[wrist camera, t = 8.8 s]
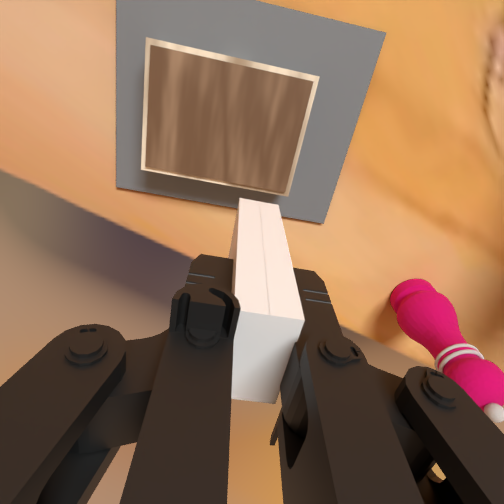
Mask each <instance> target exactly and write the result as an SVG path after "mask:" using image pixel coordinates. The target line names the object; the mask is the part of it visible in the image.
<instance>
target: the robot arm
mask: <svg viewBox="0 0 504 504" xmlns="http://www.w3.org/2000/svg"><path fill="white" fill-rule="evenodd" d="M327 294H328V292H327V289H326V286H325V284H324V281H323V280H322V279H321V278H320V277H319V276H318V275H317V274H316V273H315V272H314V271H310V270H304V269H297V268H293V266H292V262H291V257H290V253H289V249H288V244H287V240H286V236H285V231H284V227H283V222H282V218H281V214H280V209H279V205H276V204H271V203H265V202H260V201H254V200H249V199H243V198H240V199H239V204H238V209H237V215H236V220H235V225H234V230H233V236H232V241H231V246H230V252H229V257H228V258H222V257H216V256H210V255H204V254H200V255H199V256H198V257H197V258H196V259H194V260H193V261H192V262H191V266H190V270H189V274H188V277H187V280H186V284H185V287H183V288H182V289H180V290H179V291H177V292H176V294H175V295H174V297H173V298H172V306H171V317H170V327H169V329H167V330H166V331H164V332H162V333H161V334H158V335H156V336H153V337H149V338H144V339H136V340H128V341H125V339H124V338H123V336H122V335H121V334H120V332H119V331H117V330H115V329H113V328H111V327H109V326H104V325H98V324H90V325H80V326H77V327H74V328H71V329H69V330H66V331H64V332H63V333H61V334H60V335H58V336H57V337H55V338H54V339H53V340H52V341H50V342H49V343H48V344H47V345H46V346H45V347H44V348H43V349H42V350H40V351H39V352H38V353H37V354H36V355H35V356H34V357H33V358H32V359H30V360H29V361H28V362H27V363H26V364H25V365H24V366H23V367H22V368H21V369H19V370H18V371H17V372H16V373H15V374H14V375H13V376H12V377H11V378H9V379H8V380H7V382H5V383H4V384H3V385H2V386H1V387H0V504H87V502H88V500H89V499H90V497H91V495H92V494H93V492H94V490H95V488H96V487H97V485H98V483H99V482H100V480H101V478H102V477H103V475H104V473H105V472H106V470H107V468H108V467H109V465H110V463H111V462H112V460H113V458H114V457H115V455H116V453H117V451H118V450H119V448H120V446H121V445H126V444H131V443H135V442H137V445H136V448H135V452H134V455H133V459H132V462H131V466H130V469H129V473H128V476H127V480H126V483H125V487H124V490H123V494H122V497H121V501H120V504H227V489H228V488H227V487H228V465H229V440H230V417H231V415H230V414H231V399H238V400H246V401H255V402H263V403H272V404H275V403H276V400H277V397H278V395H279V391H280V392H281V400H282V408H281V411H280V413H279V416H278V419H277V422H276V424H275V427H274V430H273V432H272V435H271V440H270V445H275V442H276V440H277V438H278V442H279V454H280V466H281V478H282V491H283V503H284V504H504V434H503V433H502V432H501V431H500V430H499V429H498V427H497V426H496V425H495V424H494V423H493V422H492V421H491V420H490V418H489V417H488V416H487V415H486V414H485V413H484V412H483V411H482V409H481V408H480V407H479V406H478V405H477V404H476V403H475V402H474V401H473V399H472V398H471V397H470V396H469V395H468V394H467V393H466V392H465V391H464V389H462V388H461V387H460V386H459V385H458V384H457V383H456V382H455V381H454V380H452V379H451V378H449V377H448V376H446V375H444V374H443V373H441V372H439V371H437V370H434V369H431V368H429V367H420V366H416V367H413V368H410V369H409V370H408V372H407V373H406V375H405V377H404V378H400V377H398V376H396V375H393V374H390V373H387V372H385V371H383V370H380V369H377V368H375V367H373V366H371V365H369V364H368V363H367V360H366V358H365V356H364V354H363V353H362V351H361V350H360V348H359V347H358V346H357V345H355V344H354V343H353V342H352V341H351V340H349V339H347V338H345V337H344V336H343V334H342V332H341V328H340V326H339V323H338V320H337V317H336V314H335V312H334V309H333V306H332V304H331V300H330V298H329V295H327ZM435 463H437V464H438V466H439V467H440V469H441V470H442V472H443V473H444V475H445V476H446V479H445V480H441V479H440V478H439V477H437V476H436V474H435V473H434V472H433V471H432V469H431V468H432V467H433V466H434V465H435Z"/></svg>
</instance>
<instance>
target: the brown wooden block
mask: <svg viewBox="0 0 504 504" xmlns="http://www.w3.org/2000/svg"><path fill="white" fill-rule="evenodd" d="M318 81H319V76H315V75H311V74H306V73H302V72H297V71H293V70H289V69H284V68H280V67H275V66H271V65H267V64H262V63H258V62H253V61H249V60H245V59H240V58H236V57H231V56H227V55H223V54H218V53H214V52H209V51H205V50H201V49H196V48H192V47H187V46H183V45H179V44H174V43H170V42H165V41H161V40H157V39H152V38H148V37H146V46H145V73H144V100H143V128H142V155H141V170H146V171H151V172H156V173H162V174H167V175H173V176H178V177H184V178H189V179H194V180H200V181H205V182H211V183H216V184H222V185H227V186H233V187H238V188H243V189H249V190H254V191H260V192H265V193H271V194H276V195H281V196H287V197H288V196H289V192H290V188H291V184H292V181H293V177H294V173H295V169H296V165H297V161H298V158H299V154H300V150H301V146H302V142H303V139H304V135H305V131H306V127H307V123H308V119H309V116H310V112H311V108H312V104H313V100H314V97H315V93H316V89H317V85H318Z"/></svg>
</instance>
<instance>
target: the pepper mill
mask: <svg viewBox="0 0 504 504" xmlns="http://www.w3.org/2000/svg"><path fill="white" fill-rule="evenodd" d="M390 303H391V306H392V307H393V309H394V311H395V312H396V314H397V321H398V324H399V326H400V327H401V329H402V330H403V331H404V332H405V333H406V334H407V335H408V336H409V337H410V338H411V339H413V340H415V341H416V342H418V343H420V344H421V345H423V346H424V347H425V348H426V349H428V351H429V352H430V353H431V354H432V356H433V357H434V359H435V367H436V369H437V371H439V372H441V373H443V374H444V375H446V376H448V377H449V378H451V379H452V380H454V381H455V382H456V383H457V384H458V385H459V386H460V387H461V388H462V389H464V391H465V392H466V393H467V394H468V395H469V396H470V397H471V398H472V399H473V401H474V402H475V403H476V404H477V405H478V406H479V407H480V408H481V409H482V411H483V412H484V413H485V414H486V415H487V416H488V417H489V418H490V420H491V421H492V422H496V423H500V422H502V421H504V409H503V407H502V406H503V405H504V373H503V372H502V371H501V369H500V368H499V367H497V366H496V365H495V364H494V363H492V362H490V361H488V360H485V359H484V356H483V355H482V354H481V353H480V352H479V350H478V349H477V348H476V347H475V346H473V345H470V344H468V343H467V342H466V341H465V339H464V338H463V336H462V335H461V332H460V330H459V326H458V320H457V315H456V312H455V309H454V307H453V305H452V304H451V303H450V301H449V300H448V299H447V297H445V296H444V295H443V294H440V293H438V292H436V290H435V289H434V288H433V287H432V285H431V284H430V283H429V282H427V281H425V280H422V279H410V280H407V281H404V282H402V283H401V284H399V285H398V286H397V287H396V288H395V289H394V290H393V292H392V294H391V297H390Z"/></svg>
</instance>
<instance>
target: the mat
mask: <svg viewBox="0 0 504 504" xmlns="http://www.w3.org/2000/svg"><path fill="white" fill-rule="evenodd" d="M385 35H386V33H385V32H381V31H377V30H373V29H369V28H365V27H361V26H357V25H353V24H349V23H345V22H341V21H337V20H333V19H329V18H325V17H321V16H317V15H313V14H308V13H304V12H300V11H296V10H292V9H288V8H284V7H280V6H276V5H272V4H268V3H264V2H260V1H256V0H116V187H119V188H125V189H131V190H136V191H142V192H148V193H153V194H159V195H164V196H170V197H176V198H181V199H187V200H193V201H198V202H204V203H210V204H215V205H221V206H227V207H232V208H238V204H239V199H240V198H243V199H249V200H254V201H260V202H265V203H271V204H276V205H279V209H280V214H281V216H283V217H289V218H294V219H300V220H306V221H311V222H317V223H323V224H324V221H325V218H326V215H327V212H328V209H329V206H330V202H331V199H332V196H333V193H334V190H335V187H336V184H337V181H338V178H339V175H340V172H341V169H342V166H343V163H344V160H345V157H346V154H347V151H348V148H349V145H350V142H351V139H352V136H353V133H354V130H355V127H356V123H357V120H358V117H359V114H360V111H361V108H362V105H363V102H364V99H365V96H366V93H367V90H368V87H369V84H370V81H371V78H372V75H373V72H374V69H375V66H376V63H377V60H378V57H379V54H380V51H381V48H382V44H383V41H384V38H385ZM146 37H148V38H152V39H157V40H161V41H165V42H170V43H174V44H179V45H183V46H187V47H192V48H196V49H201V50H205V51H209V52H214V53H218V54H223V55H227V56H231V57H236V58H240V59H245V60H249V61H253V62H258V63H262V64H267V65H271V66H275V67H280V68H284V69H289V70H293V71H297V72H302V73H306V74H311V75H315V76H319V81H318V85H317V89H316V93H315V97H314V100H313V104H312V108H311V112H310V116H309V119H308V123H307V127H306V131H305V135H304V139H303V142H302V146H301V150H300V154H299V158H298V161H297V165H296V169H295V173H294V177H293V181H292V184H291V188H290V192H289V196H288V197H287V196H281V195H276V194H271V193H265V192H260V191H254V190H249V189H243V188H238V187H233V186H227V185H222V184H216V183H211V182H205V181H200V180H194V179H189V178H184V177H178V176H173V175H167V174H162V173H156V172H151V171H146V170H141V155H142V128H143V100H144V73H145V46H146Z"/></svg>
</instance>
